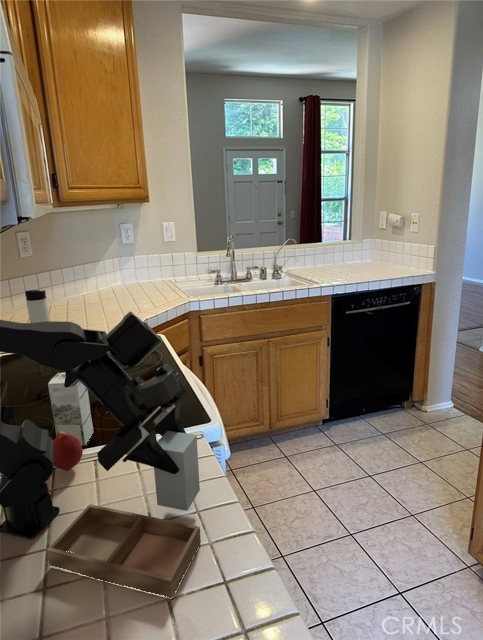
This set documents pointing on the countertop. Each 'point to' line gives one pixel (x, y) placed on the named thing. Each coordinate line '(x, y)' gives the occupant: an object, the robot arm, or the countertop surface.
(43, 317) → the travel mug
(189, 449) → the grey tall block
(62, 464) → the onion
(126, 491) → the countertop surface
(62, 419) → the syrup box
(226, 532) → the countertop surface
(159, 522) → the slot holder
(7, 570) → the countertop surface
